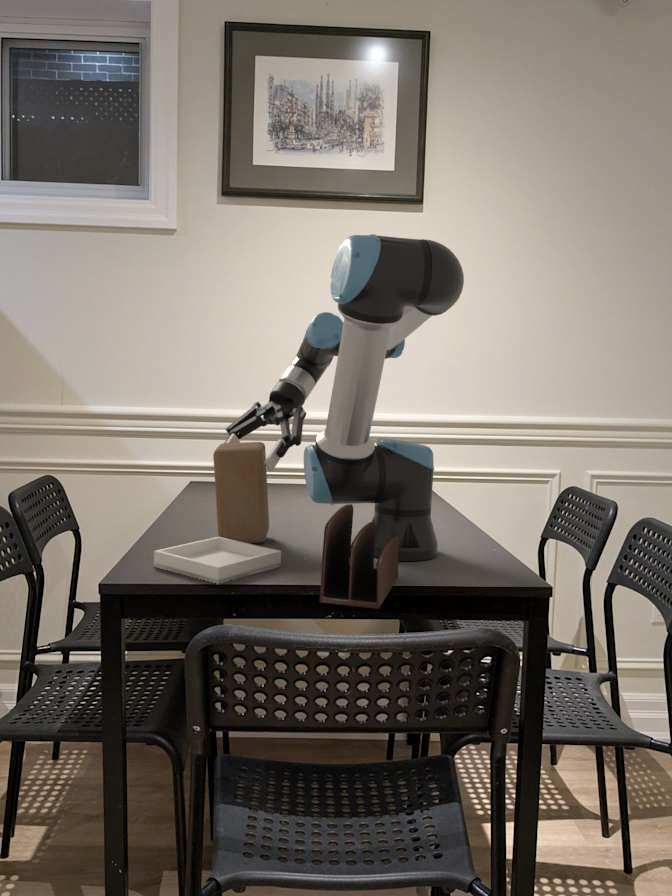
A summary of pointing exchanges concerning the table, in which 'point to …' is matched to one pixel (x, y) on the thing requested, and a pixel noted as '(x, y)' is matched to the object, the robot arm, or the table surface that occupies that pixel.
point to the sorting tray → (217, 559)
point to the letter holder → (355, 564)
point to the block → (241, 491)
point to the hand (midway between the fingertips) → (243, 463)
